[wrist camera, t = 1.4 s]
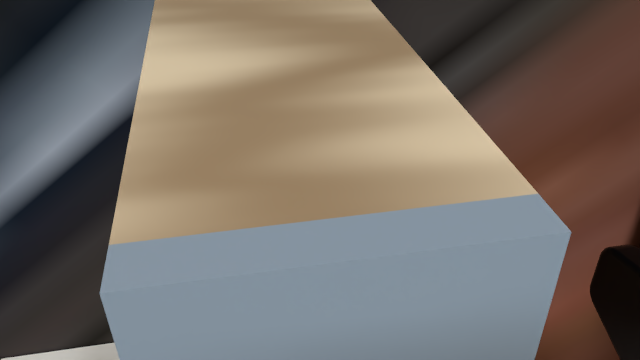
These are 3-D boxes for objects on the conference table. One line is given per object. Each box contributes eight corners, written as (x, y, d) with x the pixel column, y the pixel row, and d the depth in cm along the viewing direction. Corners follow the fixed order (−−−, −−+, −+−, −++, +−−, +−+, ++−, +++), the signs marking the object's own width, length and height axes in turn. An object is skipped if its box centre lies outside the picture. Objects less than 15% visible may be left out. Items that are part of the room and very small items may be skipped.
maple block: (358, -13, 12) (571, 232, 5) (353, 223, 15) (477, 557, 8) (155, -1, 11) (100, 292, 5) (195, 242, 14) (196, 616, 8)
